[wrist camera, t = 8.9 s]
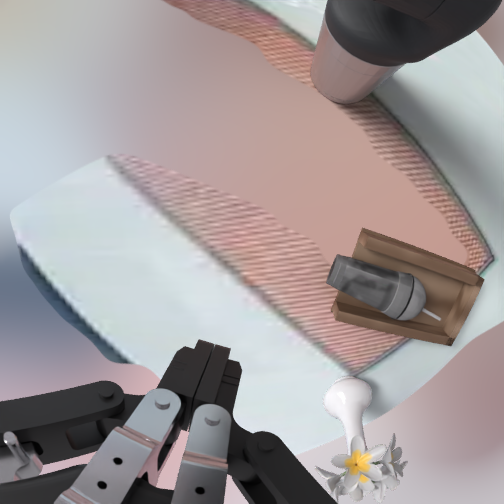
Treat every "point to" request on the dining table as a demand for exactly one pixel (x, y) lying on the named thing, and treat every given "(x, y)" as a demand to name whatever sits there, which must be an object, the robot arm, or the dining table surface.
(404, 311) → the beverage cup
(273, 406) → the dining table surface
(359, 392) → the flower vase
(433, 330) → the u rest
